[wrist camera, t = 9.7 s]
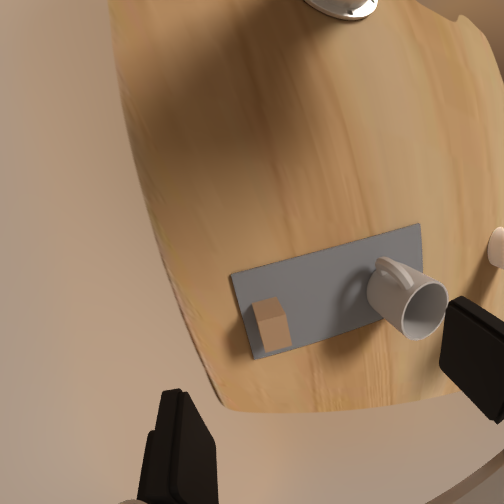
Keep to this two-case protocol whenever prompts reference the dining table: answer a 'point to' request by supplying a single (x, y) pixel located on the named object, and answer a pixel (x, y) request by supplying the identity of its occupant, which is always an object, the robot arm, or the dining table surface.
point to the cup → (407, 298)
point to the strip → (318, 291)
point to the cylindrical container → (496, 248)
